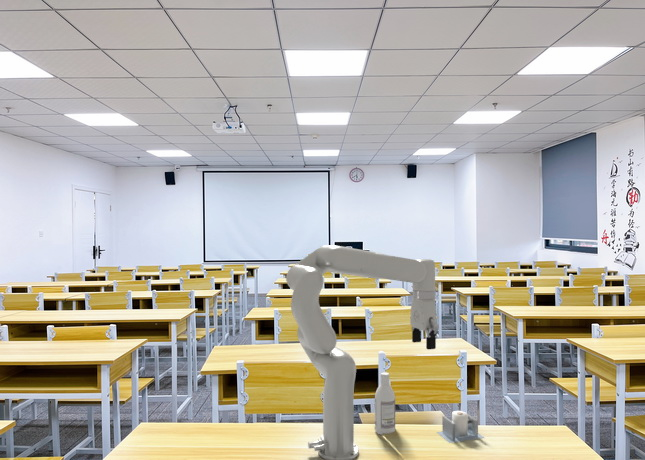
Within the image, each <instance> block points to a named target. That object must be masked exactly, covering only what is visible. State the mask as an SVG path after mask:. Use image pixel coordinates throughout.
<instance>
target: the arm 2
mask: <svg viewBox="0 0 645 460" xmlns="http://www.w3.org/2000/svg"><path fill="white" fill-rule="evenodd" d="M466 413H467V414H468V432H469V433H470V434H472V435H475V437H478V433H479V420H478V419H477V418H475V417H473V416H472V415H470V413H468V412H466Z"/></svg>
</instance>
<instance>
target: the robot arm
mask: <svg viewBox="0 0 645 460" xmlns="http://www.w3.org/2000/svg"><path fill="white" fill-rule="evenodd" d="M327 272H330V273H333V274H341V275H349V276H354V277H355V276H356V277H360V278H361V277H363V278H370V279H376V280H378V279H382V280H392V281H398V282H404V283H412V299H411V305H410V306H411V307H410V323H409V324H410V326H411V333H412V335H411V336H412V337H411V338H412V340H411V342H412V343H421V342H422V332H423V331H425V333H426V342H425V343H426V345H425V346H426V350H435V349H436V348H437V347H436V346H437V344H436V343H437V340H436V339H437V336H438V334H439V333H438V331H439V328H440V327H439V325H438V323H437V312H436V302H435V301H436V262H435V260H433V259H427V258H426V259H425V258H422V259H421V258H418V259H413V258H407V257H402V256H397V255H396V256H395V255H389V254H386V253H385V254H384V253H381V252H376V251H372V250H371V251H370V250H363V249H358V248H354V247H353V248H352V247H347V246H342V245H341V246H340V245H329V244H328V245H322V246H320V247H318V248H316V249H314V250H313V251H312V252H311V253H309V254H307V255H306V256H305V257H304V258H302V259H301V260H300V261H298V262H297V263H295V264H294V265H292V266H291V267H290V268H289V269H288V271H287V273H286V276H285V277H286V279H285V281H286V284H287V286H288V287H289V288H290V290H292V291H293V292H292V295H291V301H290V309H291V313H292V316H293V318H294V320H295V322H296V324H297V326H298V327H297V331H296V332H297V335H296V336H297V339H298V341H299V343H300V345H301V347H302V349H303V350H304V352H305V354H306V356H307V357H308V359H309V360H310V362H311V364H312V365H313V366H314V368H315V369H316V370H317V371H318V372H320V373H321V374H322V375H323V376H324V377H325V381H324V382H325V383H324V386H323V391H322V392H323V393H322V403H323V404H322V413H323V415H322V416H323V417H322V431H323V432H322V433H323V434H322V435H320V439H317V440H315V441H313V440H312V441H308V442H307V447H308V449H314V452H316V451H317V452H318V455H319V456H320V457H321V458H322V459H324V460H354V459H355V458H357V456H359V451H360V450H359V446H358V445H357V444H356V443H355V442H354V441H355V440H354V437H355V436H354V435H355V431H354V430H355V429H354V426H355V425H354V424H355V423H354V420H355V419H354V417H355V415H354V414H355V413H354V410H355V409H354V395H355V394H354V391H355V390H354V389H355V381H356V375H357V374H356V373H357V366H356V365H357V364H356V362H355V360H354V358H353V357H352V356H351V355H350V354H349V353H348V352H346V351H344V350H343V349H341V348H338V347H337V343H338V340H337V334H336V331H335V330H334V328H333V327H332V325H331V324H330V321H328V319H327V317H326V316H325V314H324V312H323V310H322V308H321V306H320V300H319V299H320V294H321V291H322V289H323V286H324V275H325V274H326V273H327Z"/></svg>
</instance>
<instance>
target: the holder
mask: <svg viewBox="0 0 645 460" xmlns="http://www.w3.org/2000/svg"><path fill="white" fill-rule="evenodd" d="M436 433H437V434H438V435H439V436H440V437H442V439H444V440H445V441H447V442H448V443H449V444H454V443H459V442H465V441H473V440H478V439H484V438H485V437H484V436H483V435H481V434H480V433H479V432H478V437H475V435H472V434H470V433H469V432H468V435H467V436H460V437H455V441H452V440H451V439H450V438H448V437H447V436H446V435H445V434H443V430H441V431H437V432H436Z"/></svg>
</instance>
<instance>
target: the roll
mask: <svg viewBox="0 0 645 460" xmlns="http://www.w3.org/2000/svg"><path fill="white" fill-rule="evenodd" d="M467 413H468V412H465V411H462V410H454V411H452V413H451V421H453V422H454V423H455V437H460V436H467V435H468V414H469V413H468V414H467Z"/></svg>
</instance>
